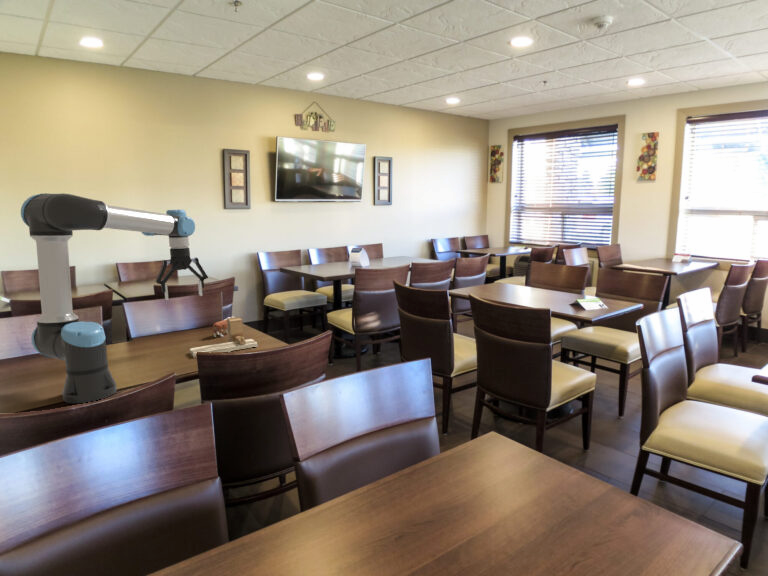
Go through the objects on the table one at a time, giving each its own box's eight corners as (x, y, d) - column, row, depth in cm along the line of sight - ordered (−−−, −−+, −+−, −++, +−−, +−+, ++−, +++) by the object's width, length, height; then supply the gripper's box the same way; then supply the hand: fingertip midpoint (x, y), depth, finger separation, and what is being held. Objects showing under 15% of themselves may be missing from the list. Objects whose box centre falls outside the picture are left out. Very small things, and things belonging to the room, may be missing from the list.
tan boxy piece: (249, 348, 211) (248, 323, 209) (237, 350, 208) (236, 325, 206) (239, 340, 222) (238, 317, 220) (228, 342, 219) (226, 318, 217)
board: (257, 347, 212) (257, 342, 212) (194, 358, 198) (194, 353, 198) (251, 342, 219) (251, 338, 218) (190, 353, 205) (189, 348, 204)
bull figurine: (239, 332, 237) (238, 315, 235) (216, 339, 225) (215, 321, 224) (233, 330, 239) (232, 314, 237) (210, 337, 228) (209, 320, 226)
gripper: (207, 244, 214) (211, 292, 219) (144, 248, 201) (150, 299, 205) (212, 245, 208) (216, 295, 212) (148, 250, 195) (153, 303, 199)
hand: (184, 297), depth 209 cm, fingers open, 13 cm apart
